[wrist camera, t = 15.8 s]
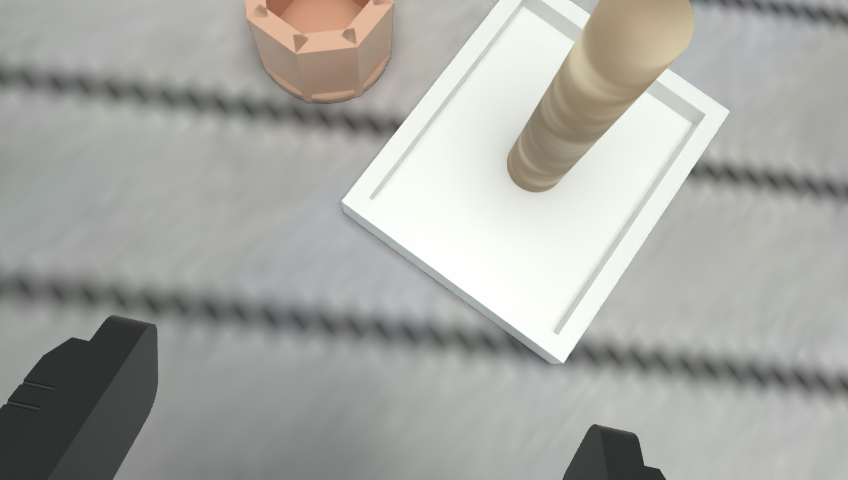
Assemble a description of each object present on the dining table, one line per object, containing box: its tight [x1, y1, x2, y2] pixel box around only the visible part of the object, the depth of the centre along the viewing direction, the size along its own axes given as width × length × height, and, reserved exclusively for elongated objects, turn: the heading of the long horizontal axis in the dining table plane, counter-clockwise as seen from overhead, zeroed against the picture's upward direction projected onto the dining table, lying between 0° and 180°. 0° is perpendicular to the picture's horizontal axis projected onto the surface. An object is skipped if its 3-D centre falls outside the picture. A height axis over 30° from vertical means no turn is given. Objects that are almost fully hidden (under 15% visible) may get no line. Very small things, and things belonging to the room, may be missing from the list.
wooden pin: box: [507, 0, 695, 192], centre depth 30 cm, size 3×3×16 cm
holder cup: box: [245, 0, 394, 103], centre depth 36 cm, size 8×8×6 cm
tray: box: [341, 0, 730, 364], centre depth 37 cm, size 14×17×2 cm
